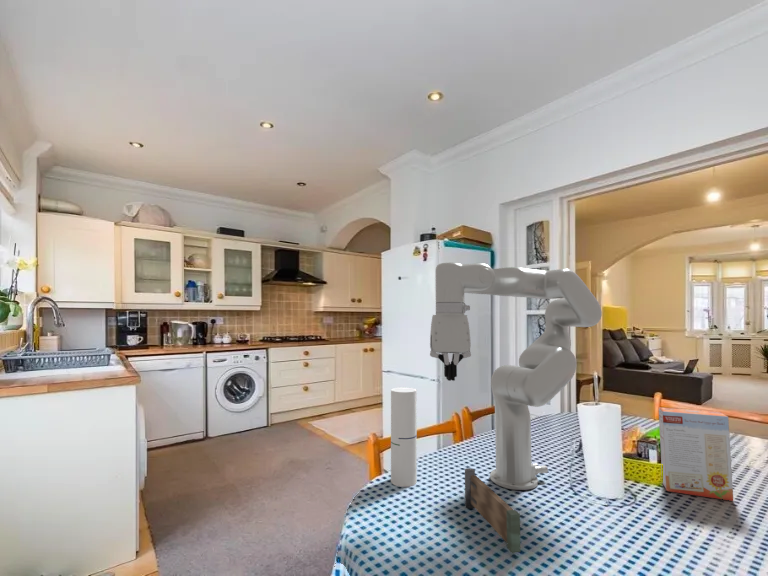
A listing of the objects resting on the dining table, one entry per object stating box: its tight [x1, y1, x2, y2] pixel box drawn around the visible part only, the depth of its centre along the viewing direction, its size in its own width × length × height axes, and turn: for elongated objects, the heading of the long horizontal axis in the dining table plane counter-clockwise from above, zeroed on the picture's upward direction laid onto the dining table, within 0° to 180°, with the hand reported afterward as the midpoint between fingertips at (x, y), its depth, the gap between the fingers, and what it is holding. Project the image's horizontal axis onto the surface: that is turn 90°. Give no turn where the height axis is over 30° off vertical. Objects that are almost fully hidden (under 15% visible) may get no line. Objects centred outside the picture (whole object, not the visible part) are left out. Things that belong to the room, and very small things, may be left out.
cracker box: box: [658, 406, 734, 502], centre depth 104 cm, size 14×6×21 cm, turn 65°
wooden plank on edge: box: [470, 474, 521, 554], centre depth 85 cm, size 19×2×7 cm, turn 12°
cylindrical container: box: [390, 386, 418, 488], centre depth 110 cm, size 7×7×25 cm
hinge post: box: [464, 467, 476, 510], centre depth 96 cm, size 2×2×8 cm
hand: (450, 379), depth 104 cm, fingers closed
